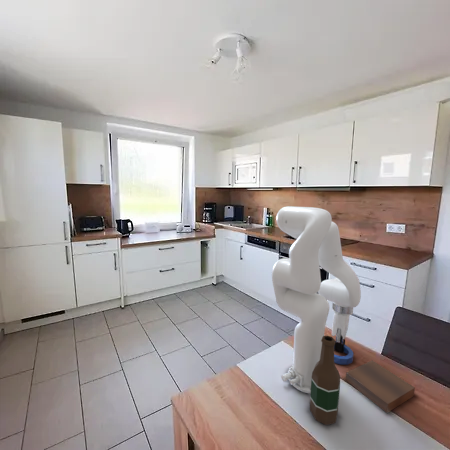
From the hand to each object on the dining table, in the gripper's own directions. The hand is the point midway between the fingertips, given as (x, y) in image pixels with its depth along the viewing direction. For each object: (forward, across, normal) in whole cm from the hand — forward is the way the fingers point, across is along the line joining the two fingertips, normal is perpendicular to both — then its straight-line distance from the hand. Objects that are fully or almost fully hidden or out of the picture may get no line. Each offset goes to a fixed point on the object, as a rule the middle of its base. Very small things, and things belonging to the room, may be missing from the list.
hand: (339, 348), depth 100 cm
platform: (0, +14, +14) cm, 20 cm away
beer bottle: (0, +34, +1) cm, 35 cm away
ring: (0, +4, 0) cm, 4 cm away
